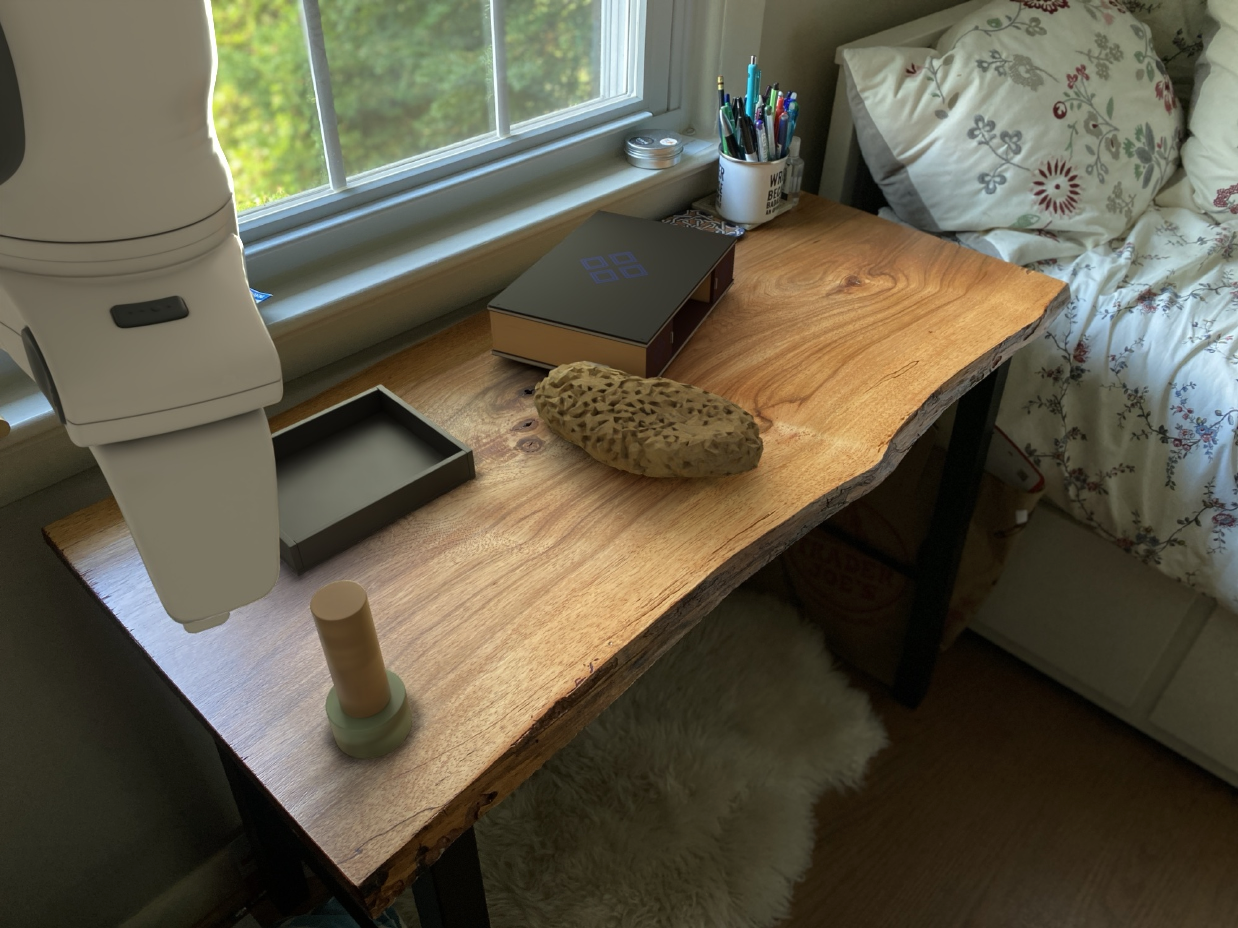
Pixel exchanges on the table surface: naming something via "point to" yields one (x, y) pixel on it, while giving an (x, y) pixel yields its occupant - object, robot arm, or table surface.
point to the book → (614, 296)
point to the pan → (359, 473)
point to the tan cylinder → (358, 674)
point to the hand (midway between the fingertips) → (171, 549)
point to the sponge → (648, 423)
